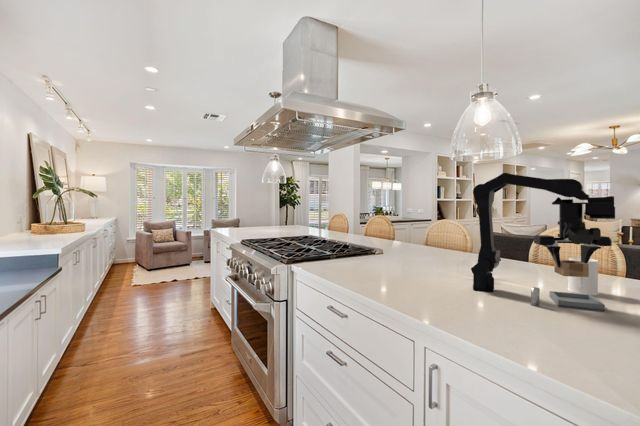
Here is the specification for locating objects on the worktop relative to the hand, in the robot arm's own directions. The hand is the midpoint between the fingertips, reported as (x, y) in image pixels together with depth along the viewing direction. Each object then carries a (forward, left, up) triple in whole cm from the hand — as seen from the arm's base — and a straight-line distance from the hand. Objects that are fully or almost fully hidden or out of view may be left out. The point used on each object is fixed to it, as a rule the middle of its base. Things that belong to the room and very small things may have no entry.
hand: (570, 267), depth 98 cm
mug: (+8, +16, -12) cm, 22 cm away
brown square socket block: (0, 0, -2) cm, 2 cm away
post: (-10, -6, -12) cm, 17 cm away
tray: (+2, +1, -12) cm, 12 cm away
